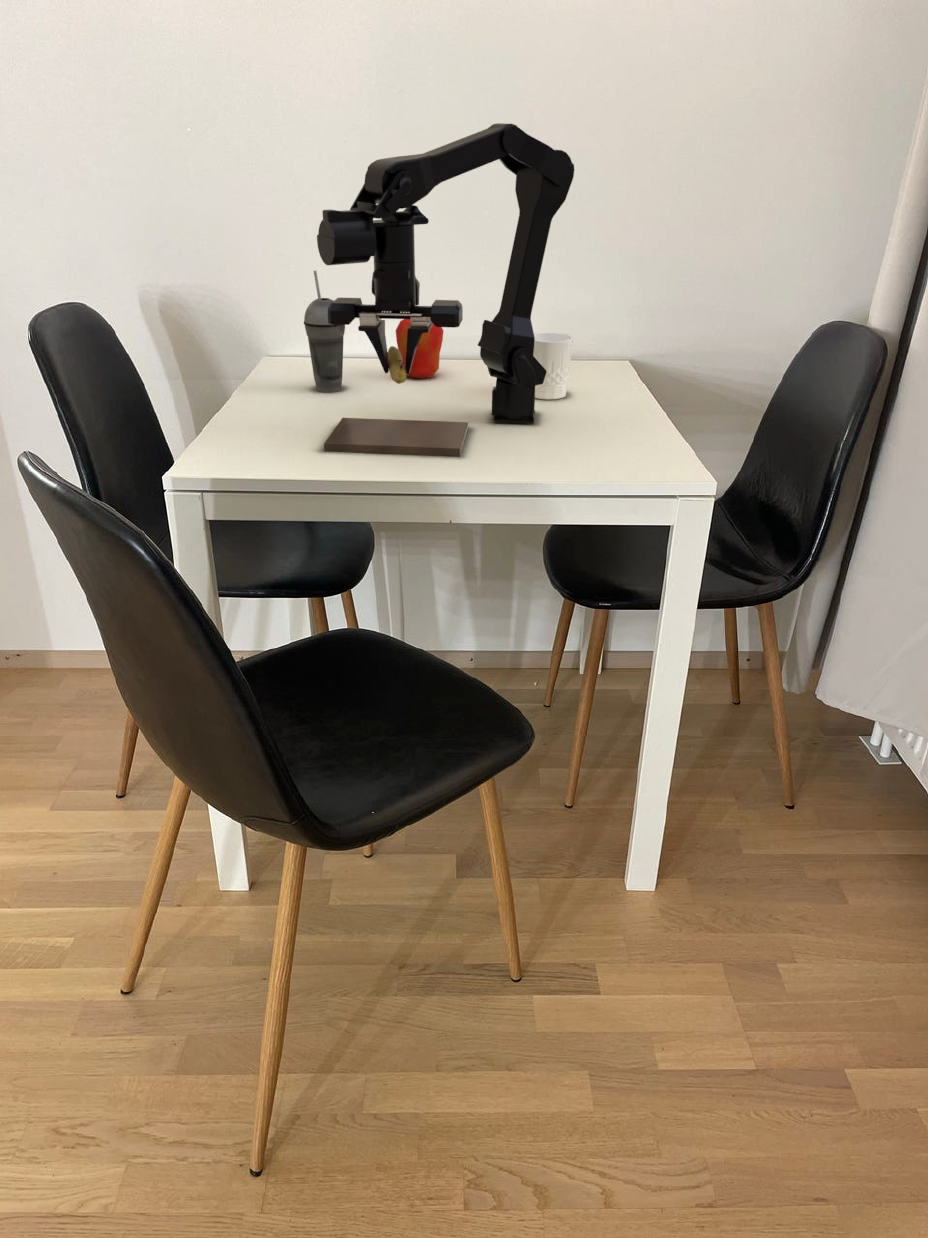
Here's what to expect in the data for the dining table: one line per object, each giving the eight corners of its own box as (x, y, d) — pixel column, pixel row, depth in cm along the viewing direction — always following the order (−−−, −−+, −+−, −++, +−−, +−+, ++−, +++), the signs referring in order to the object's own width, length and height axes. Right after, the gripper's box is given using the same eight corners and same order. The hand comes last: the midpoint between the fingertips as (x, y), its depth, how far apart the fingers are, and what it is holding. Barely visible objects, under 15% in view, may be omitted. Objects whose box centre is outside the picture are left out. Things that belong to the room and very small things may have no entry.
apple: (388, 377, 173) (386, 312, 167) (413, 368, 179) (412, 305, 173) (426, 384, 169) (425, 317, 163) (451, 374, 175) (451, 310, 169)
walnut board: (468, 429, 145) (468, 422, 144) (459, 456, 134) (460, 448, 133) (342, 424, 146) (342, 417, 146) (324, 451, 135) (323, 443, 135)
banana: (385, 371, 141) (384, 344, 139) (401, 370, 141) (400, 344, 139) (393, 388, 132) (392, 360, 130) (410, 388, 132) (409, 359, 130)
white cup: (518, 397, 161) (520, 339, 156) (532, 386, 168) (535, 330, 163) (561, 402, 159) (565, 343, 154) (574, 391, 165) (578, 334, 160)
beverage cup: (342, 395, 162) (335, 274, 152) (302, 392, 163) (293, 273, 153) (354, 384, 168) (348, 268, 158) (316, 382, 169) (308, 266, 159)
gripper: (466, 253, 135) (465, 361, 142) (340, 251, 136) (346, 358, 144) (458, 264, 125) (458, 380, 132) (323, 261, 126) (330, 376, 134)
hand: (397, 372), depth 136 cm, fingers closed on banana, 3 cm apart
